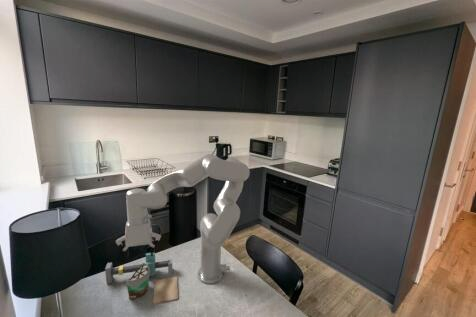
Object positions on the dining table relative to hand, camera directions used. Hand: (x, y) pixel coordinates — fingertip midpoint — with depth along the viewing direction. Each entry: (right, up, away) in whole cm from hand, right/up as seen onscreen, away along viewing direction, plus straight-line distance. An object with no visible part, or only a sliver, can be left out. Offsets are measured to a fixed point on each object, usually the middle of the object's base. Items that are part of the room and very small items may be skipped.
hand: (140, 255), depth 97 cm
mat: (+9, -18, +6) cm, 21 cm away
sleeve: (-1, -14, +14) cm, 20 cm away
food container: (-1, -18, +4) cm, 18 cm away
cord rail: (-5, -15, +14) cm, 21 cm away
